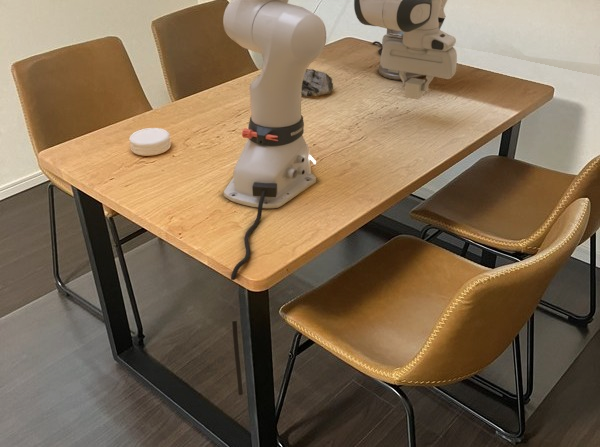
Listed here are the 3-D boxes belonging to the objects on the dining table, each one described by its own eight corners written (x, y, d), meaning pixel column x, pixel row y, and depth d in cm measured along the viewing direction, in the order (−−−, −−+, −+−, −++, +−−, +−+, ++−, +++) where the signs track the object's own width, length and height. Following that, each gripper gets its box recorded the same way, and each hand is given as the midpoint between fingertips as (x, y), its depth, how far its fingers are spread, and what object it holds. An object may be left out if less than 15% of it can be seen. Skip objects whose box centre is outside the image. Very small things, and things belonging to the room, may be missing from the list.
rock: (337, 91, 188) (337, 68, 185) (314, 100, 182) (313, 76, 179) (303, 81, 198) (303, 59, 194) (280, 89, 192) (279, 66, 188)
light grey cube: (410, 91, 170) (411, 77, 168) (424, 94, 168) (425, 79, 166) (403, 96, 167) (405, 82, 165) (417, 99, 165) (419, 84, 163)
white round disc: (133, 140, 161) (131, 128, 159) (172, 138, 162) (170, 126, 160) (128, 157, 152) (126, 144, 150) (169, 155, 153) (167, 142, 151)
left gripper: (378, 34, 162) (374, 85, 169) (454, 45, 153) (447, 99, 160) (387, 29, 166) (384, 79, 174) (462, 39, 157) (455, 91, 165)
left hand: (415, 88), depth 167 cm, fingers closed on light grey cube, 4 cm apart
